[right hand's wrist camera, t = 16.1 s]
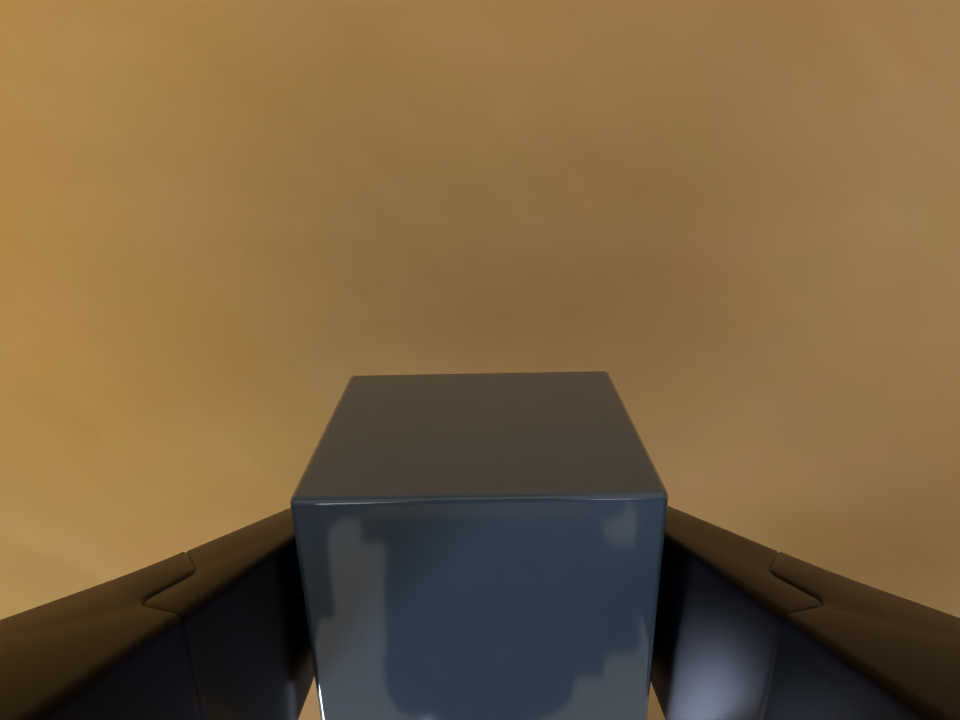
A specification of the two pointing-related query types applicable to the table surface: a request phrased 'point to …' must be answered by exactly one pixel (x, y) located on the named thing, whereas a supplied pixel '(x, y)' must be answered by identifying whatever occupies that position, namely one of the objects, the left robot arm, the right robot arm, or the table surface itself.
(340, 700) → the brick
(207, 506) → the table surface
